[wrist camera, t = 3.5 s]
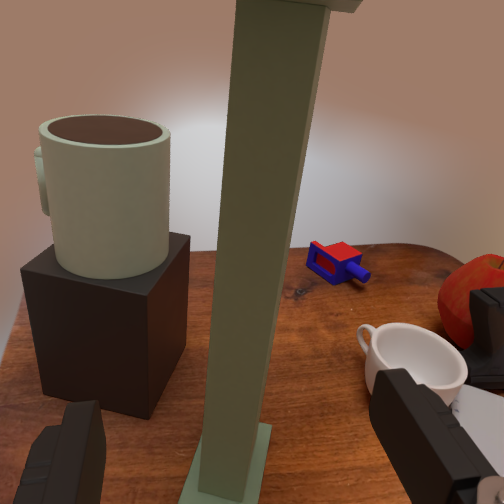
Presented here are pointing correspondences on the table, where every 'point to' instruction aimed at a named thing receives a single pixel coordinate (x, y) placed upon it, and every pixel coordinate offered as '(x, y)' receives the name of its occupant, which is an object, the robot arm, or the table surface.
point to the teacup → (414, 357)
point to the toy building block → (336, 262)
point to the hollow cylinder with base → (107, 264)
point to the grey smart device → (482, 422)
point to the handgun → (486, 339)
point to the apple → (467, 295)
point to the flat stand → (255, 233)
